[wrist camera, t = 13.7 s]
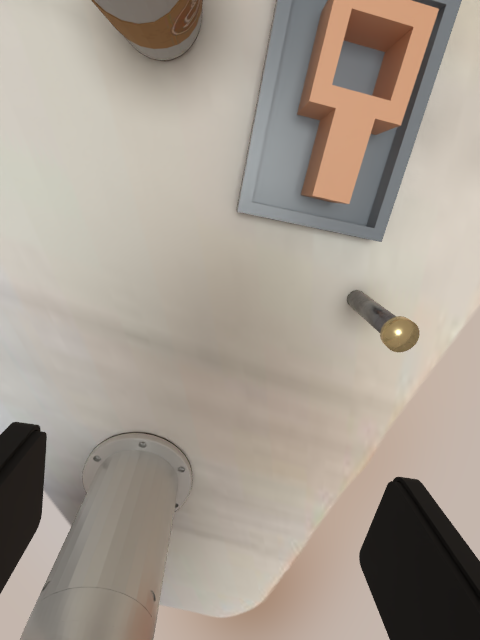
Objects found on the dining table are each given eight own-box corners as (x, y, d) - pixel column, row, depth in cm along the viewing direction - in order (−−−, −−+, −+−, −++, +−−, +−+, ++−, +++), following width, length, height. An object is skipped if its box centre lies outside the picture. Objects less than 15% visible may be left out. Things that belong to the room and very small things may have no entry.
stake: (364, 313, 36) (412, 354, 27) (340, 308, 36) (380, 349, 26) (372, 288, 35) (424, 323, 26) (347, 284, 35) (391, 317, 25)
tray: (370, 238, 33) (381, 241, 31) (236, 210, 32) (237, 211, 30) (444, 8, 27) (464, -10, 25) (283, -38, 26) (289, -61, 24)
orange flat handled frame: (406, 37, 27) (439, 8, 23) (353, 207, 32) (373, 209, 27) (321, 12, 27) (339, -22, 22) (279, 190, 31) (287, 189, 27)
